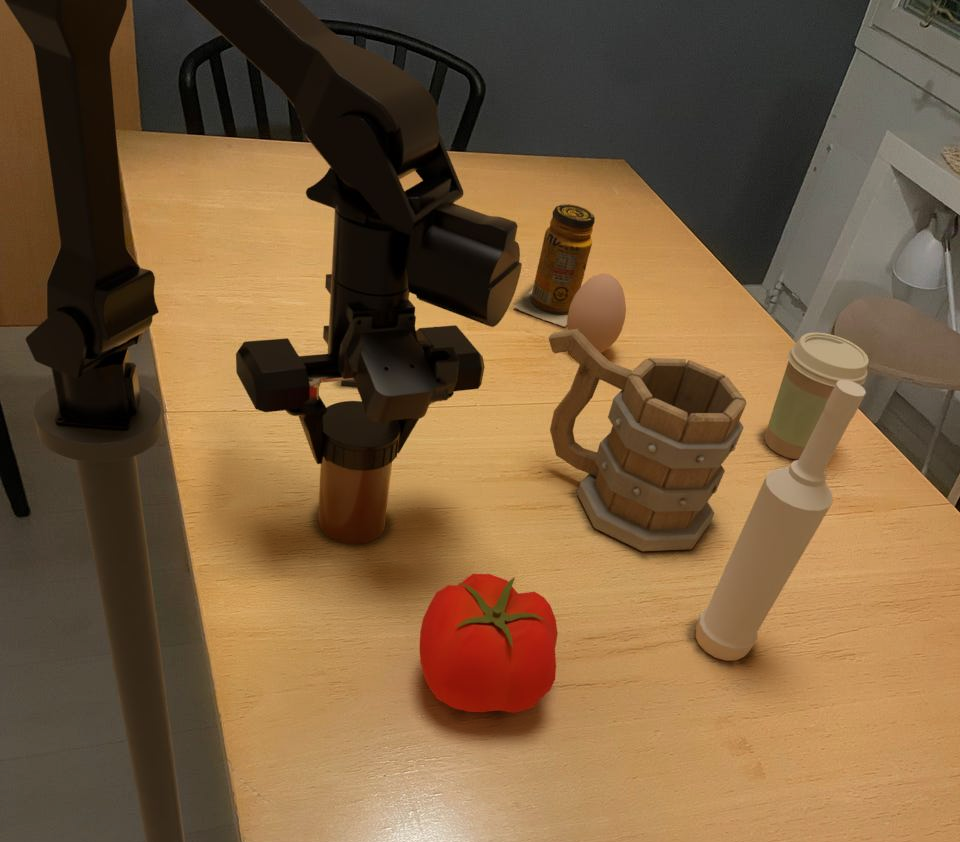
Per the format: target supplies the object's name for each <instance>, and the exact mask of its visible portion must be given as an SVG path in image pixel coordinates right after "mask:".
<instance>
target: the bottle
mask: <svg viewBox="0 0 960 842" xmlns="http://www.w3.org/2000/svg"><path fill="white" fill-rule="evenodd" d="M866 392H867V391H866V389H865V388H864V387H863V386H862V385H859V384H857V383H855V382H852V381H848V380H839V381H838V382H837V383H836V385H835V387H834V389H833V391H832V393H831V395H830V397H829V399H828V401H827V403H826V405H825V409H824V411H823V413H822V415H821V417H820V419H819V421H818V423H817V425H816V427H815V429H814V431H813V433H812V435H811V436H810V438H809V440H808V442H807V444H806V446H805V448H804V450H803V452H802V454H801V456H800V458H799V460H798V459H795V460H794V461H792V462H791V463H790V465H789V466H788V465H787V466H784V467H779V468H776V469H773V470H770V471H769V472H768V473H767V474H766V476H765V478H764V479H763V482H762V484H761V486H760V489H759V491H758V493H757V496H756V498H755V499H754V502H753V505H752V507H751V509H750V511H749V513H748V516H747V517H746V520H745V522H744V524H743V528H742V529H741V531H740V533H739V536H738V539H737V540H736V543H735V544H734V547H733V549H732V551H731V554H730V556H729V558H728V561H727V563H726V565H725V566H724V569H723V571H722V574H721V576H720V579H719V580H718V583H717V585H716V587H715V590H714V591H713V594H712V596H711V599H710V601H709V602H708V603H709V604H708V606H707V607H706V608H705V609H704V610H703V611H702V612H701V614H700V615H699V617H698V620H697V622H696V625H695V639H696V641H697V644H698V646H699V647H700V648H701V649H702V650H703V651H704V652H705V653H707V654H708V655H709V656H712V657H714V658H715V659H719V660H722V661H728V662H729V661H737V660H740V659H742V658H744V657H746V656H747V655H748V654H749V652H750V651H751V649H752V648H753V647H754V646H755V644H756V642H757V640H758V632H759V630H760V629H761V627H762V625H763V623H764V622H765V620H766V619H767V617H768V615H769V613H770V611H771V610H772V608H773V606H774V604H775V603H776V601H777V599H778V597H779V596H780V593H781V592H782V591H783V589H784V587H785V586H786V583H787V582H788V580H789V578H790V577H791V576H792V573H793V571H794V570H795V569H796V567H797V565H798V563H799V561H800V560H801V558H802V556H803V554H804V553H805V551H806V550H807V547H808V546H809V544H810V543H811V540H812V539H813V537H814V535H816V533H817V530H818V529H819V527H820V525H821V524H822V522H823V520H824V518H825V516H826V515H827V513H828V512H829V510H830V509H831V506H832V505H833V503H834V497H833V496H834V495H833V492H832V491H831V489H830V487H829V485H828V483H827V481H826V479H827V473H826V469H827V467H828V465H829V463H830V461H831V459H832V457H833V456H834V453H835V451H836V449H837V448H838V445H839V443H840V442H841V440H842V438H843V436H844V435H845V432H846V430H847V428H848V426H849V424H850V423H851V421H852V419H853V418H854V417H855V415H856V412H857V411H858V409H859V408H860V405H861V403H862V402H863V400H864V398H865V396H866V394H867V393H866Z"/></svg>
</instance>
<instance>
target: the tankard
mask: <svg viewBox="0 0 960 842" xmlns="http://www.w3.org/2000/svg"><path fill="white" fill-rule="evenodd" d="M548 342H549V345H550V348H551V352H552V353H554V354H560V353H566V352H569V354H570V355H571V356H572V357H573V358H574V360H575V361H576V363H577V364H578V368H577V370H576V374H575V376H574V379H573V381H572V384H571V386H570V389H569V390H568V392H567V393H566V394H565V396H564V397H563V398H562V400H561V401H560V403H558V405H557V406H556V407H555V409H554V410H553V414H552V418H551V423H550V428H549V432H550V436H551V440H552V444H553V448H554V452H555V456H556V457H558V458H559V459H561V460H562V461H564V462H565V463H567V464H569V465H570V466H571V467H573V468H574V469H576V470H578V471H582V472H584V473H587V475H586V476H585V477H584V478H583V479H582V480H581V482H579V485H578V489H577V492H576V495H577V496H578V499H579V500H580V502H581V505H582V506H583V508H584V510H585V513H586V514H587V516H588V518H589V520H590V523H591V525H592V527H593V528H594V529H596V530H597V531H600V532H602V533H603V534H606V535H608V536H610V537H612V538H613V539H616V540H618V541H620V542H622V543H624V544H626V545H628V546H630V547H631V548H634V549H636V550H638V551H640V552H656V551H657V552H659V551H681V550H692V549H693V548H694V547H695V545H696V544H697V542H698V541H699V540H700V538H701V536H702V535H703V534H704V533H705V531H706V530H707V529H708V527H709V526H710V524H711V522H712V520H713V518H714V516H715V512H714V509H713V508H712V507H711V505H710V503H709V501H710V499H711V498H712V496H713V495H714V494H716V493H717V491H718V488H719V486H720V483H721V481H722V479H723V476H724V474H725V472H726V470H725V468H724V467H723V466H722V465H723V464H724V462H725V461H726V460H727V458H728V457H729V455H730V454H732V452H734V451H735V450H736V447H737V444H738V442H739V439H740V438H741V435H742V432H743V430H744V428H745V427H744V425H743V424H742V422H741V418H742V415H743V413H744V410H745V408H746V406H747V400H746V399H745V397H744V396H743V395H742V393H741V392H740V391H739V389H738V388H737V387H736V386H735V384H734V383H733V382H732V380H731V379H730V378H729V377H728V376H727V377H726V374H724V373H721V372H719V371H716V370H714V369H712V368H709V367H707V366H705V365H703V364H700V363H698V362H695V361H693V360H691V359H688V360H687V361H686V358H667V357H665V358H663V357H649V358H646V359H644V360H643V361H641V363H639V364H638V365H637V366H636V367H635V368H634V369H633V370H632V369H629V368H628V367H625V366H622V365H620V364H617V363H615V362H612V361H610V360H609V359H607V357H606V356H604V355H603V354H602V352H599V351H598V350H597V349H596V348H595V347H594V346H593V345H592V344H591V343H590V342H589V341H588V340H587V339H586V337H585V336H584V335H583V334H582V333H581V332H580V331H579V330H578V329H573V330H568V329H567V330H562V331H554V332H553V333H551V334H550V335H549V336H548ZM600 381H603V382H605V383H607V384H609V385H610V386H612V387H614V388H617V389H619V390H620V391H619V392H618V393H617V394H616V395H615V396H614V397H613V399H612V402H611V405H610V406H611V407H610V409H609V412H608V415H607V418H608V420H609V422H610V423H611V425H612V426H611V430H610V432H609V433H608V434H607V435H606V436H605V437H604V438H603V439H601V441H600V442H599V444H598V448H597V451H594V450H591V449H587V448H585V447H583V446H582V445H580V444H579V443H577V441H576V439H575V434H574V428H575V423H576V419H577V417H578V416H579V415H580V414H581V412H582V411H583V410H584V409H585V408H586V406H587V405H588V404H589V402H590V401H591V400H592V399H593V397H594V394H595V392H596V389H597V387H598V384H599V382H600Z"/></svg>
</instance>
